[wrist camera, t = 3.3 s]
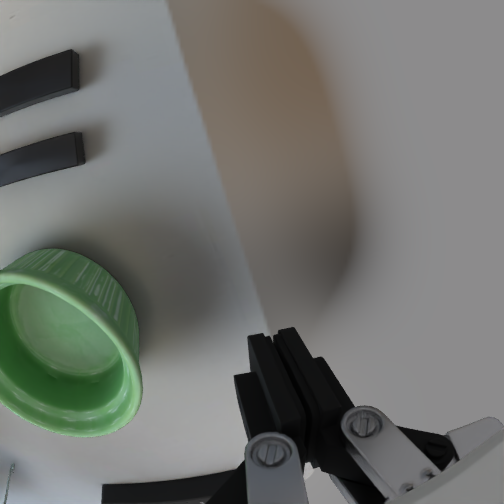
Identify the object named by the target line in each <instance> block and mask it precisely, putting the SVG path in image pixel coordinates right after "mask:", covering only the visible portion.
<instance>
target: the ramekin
mask: <svg viewBox="0 0 504 504" xmlns="http://www.w3.org/2000/svg"><path fill="white" fill-rule="evenodd" d="M142 393H143V385H142V375H141V370H140V366H139V328H138V321H137V318H136V314H135V311H134V308H133V306H132V304H131V302H130V300H129V298H128V296H127V294H126V293H125V291H124V290H123V288H122V287H121V286H120V285H119V283H118V282H117V281H116V280H115V279H114V278H113V277H112V276H111V275H110V274H109V273H108V272H107V271H106V270H105V269H103V268H102V267H101V266H100V265H98V264H97V263H95V262H93V261H92V260H90V259H88V258H86V257H84V256H82V255H80V254H78V253H74V252H71V251H68V250H63V249H42V250H36V251H34V252H31V253H28V254H26V255H24V256H23V257H21V258H19V259H17V260H16V261H14V262H13V263H11V264H10V265H8V266H7V267H6V268H4V269H2V270H0V402H1V403H2V404H3V405H4V406H5V407H7V408H8V409H9V410H11V411H12V412H13V413H15V414H16V415H18V416H19V417H21V418H22V419H24V420H26V421H28V422H30V423H31V424H33V425H35V426H38V427H40V428H43V429H45V430H48V431H51V432H54V433H57V434H62V435H66V436H73V437H97V436H103V435H107V434H110V433H113V432H115V431H117V430H119V429H121V428H122V427H124V426H125V425H126V424H128V423H129V422H130V421H131V420H132V419H133V417H134V416H135V415H136V413H137V411H138V409H139V407H140V404H141V400H142Z"/></svg>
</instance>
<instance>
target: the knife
mask: <svg viewBox="0 0 504 504" xmlns="http://www.w3.org/2000/svg"><path fill="white" fill-rule="evenodd" d="M78 90H79V54H78V53H76V52H75V51H74V50H73V49H70V50H67V51H64V52H61V53H58V54H55V55H52V56H49V57H46V58H43V59H40V60H38V61H35V62H32V63H30V64H27V65H25V66H22V67H20V68H17V69H15V70H13V71H11V72H8V73H6V74H4V75H2V76H0V117H2V116H4V115H7V114H9V113H12V112H14V111H17V110H20V109H22V108H25V107H28V106H30V105H33V104H36V103H39V102H42V101H45V100H48V99H51V98H54V97H58V96H61V95H64V94H68V93H71V92H75V91H78Z"/></svg>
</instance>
